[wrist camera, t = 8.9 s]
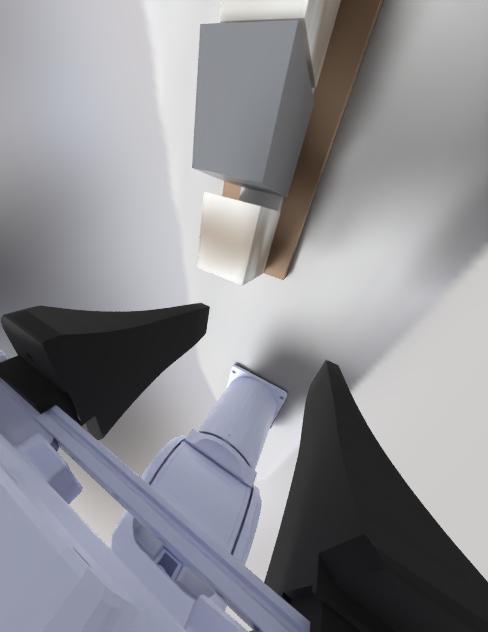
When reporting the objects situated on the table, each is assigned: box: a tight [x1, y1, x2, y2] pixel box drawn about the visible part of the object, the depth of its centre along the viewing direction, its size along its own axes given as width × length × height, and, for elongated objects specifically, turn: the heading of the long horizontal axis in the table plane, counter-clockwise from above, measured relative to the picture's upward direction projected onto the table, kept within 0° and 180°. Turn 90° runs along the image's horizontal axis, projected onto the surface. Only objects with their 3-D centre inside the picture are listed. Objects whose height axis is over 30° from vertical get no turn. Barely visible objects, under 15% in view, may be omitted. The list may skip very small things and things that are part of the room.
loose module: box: [192, 20, 314, 198], centre depth 11 cm, size 5×4×6 cm
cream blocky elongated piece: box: [197, 0, 383, 285], centre depth 12 cm, size 17×8×6 cm, turn 166°
